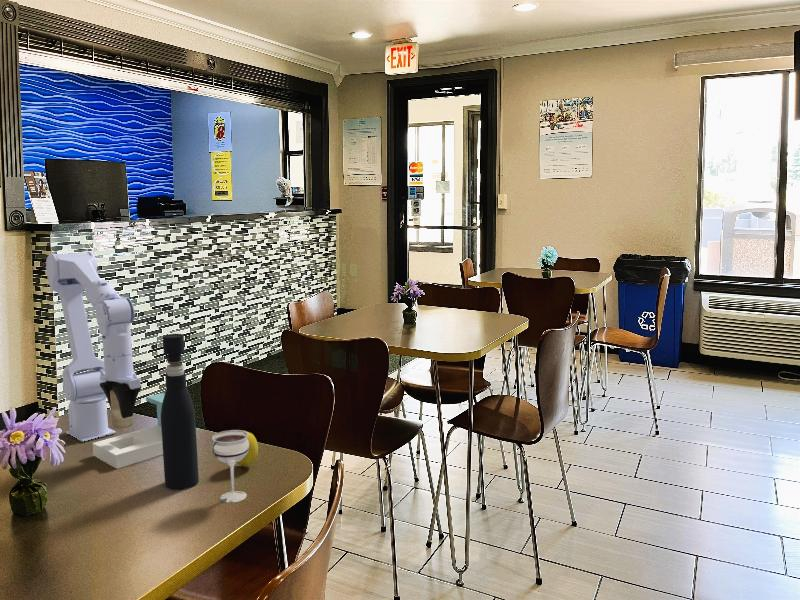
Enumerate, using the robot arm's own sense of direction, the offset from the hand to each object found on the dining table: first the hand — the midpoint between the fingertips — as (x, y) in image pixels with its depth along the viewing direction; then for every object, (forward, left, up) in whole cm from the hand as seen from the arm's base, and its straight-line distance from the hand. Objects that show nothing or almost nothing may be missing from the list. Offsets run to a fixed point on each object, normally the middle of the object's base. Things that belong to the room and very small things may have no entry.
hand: (122, 414), depth 145 cm
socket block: (0, +4, -9) cm, 10 cm away
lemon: (+26, +13, -10) cm, 31 cm away
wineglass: (+36, +3, -10) cm, 37 cm away
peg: (0, 0, -2) cm, 2 cm away
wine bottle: (+23, 0, -10) cm, 25 cm away
